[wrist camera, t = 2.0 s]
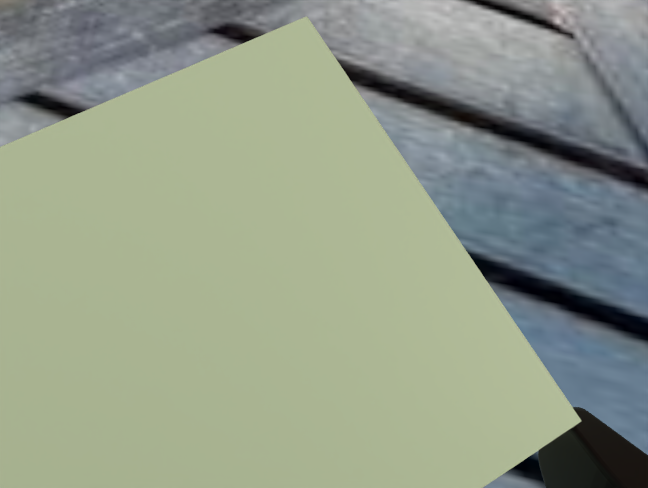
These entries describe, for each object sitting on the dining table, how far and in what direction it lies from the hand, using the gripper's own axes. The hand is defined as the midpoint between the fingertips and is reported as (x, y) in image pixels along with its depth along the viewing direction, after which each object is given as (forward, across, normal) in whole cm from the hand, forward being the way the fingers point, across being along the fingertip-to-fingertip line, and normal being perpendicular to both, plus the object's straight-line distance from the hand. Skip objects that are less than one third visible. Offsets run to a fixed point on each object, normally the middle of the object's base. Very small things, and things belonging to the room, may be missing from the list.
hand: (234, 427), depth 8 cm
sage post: (+7, 0, +6) cm, 9 cm away
